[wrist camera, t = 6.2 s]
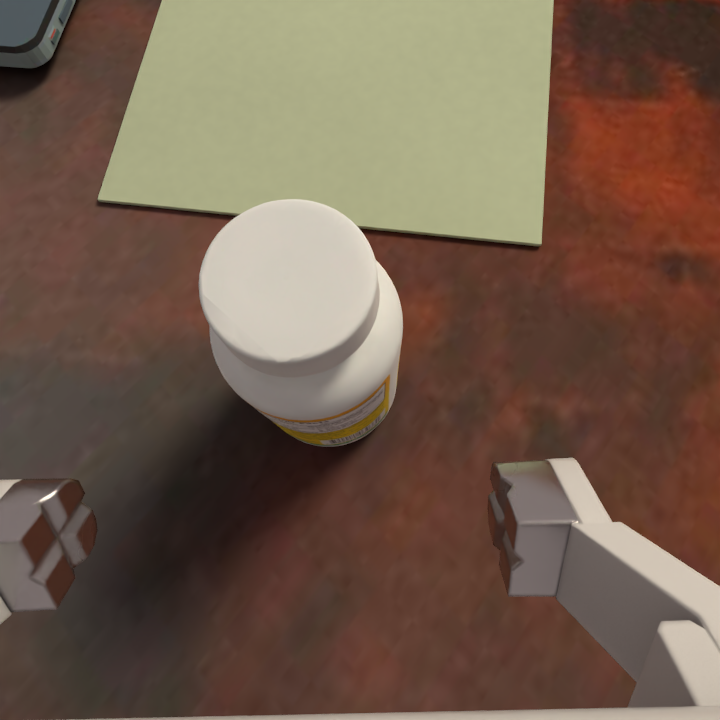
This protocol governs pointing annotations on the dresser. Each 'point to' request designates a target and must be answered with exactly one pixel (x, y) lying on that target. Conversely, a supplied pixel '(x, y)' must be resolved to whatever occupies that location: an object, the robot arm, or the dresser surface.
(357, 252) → the supplement bottle
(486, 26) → the mat
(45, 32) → the smartphone
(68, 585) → the robot arm
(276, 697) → the dresser surface
